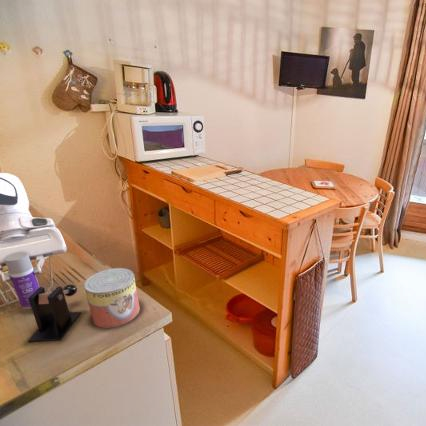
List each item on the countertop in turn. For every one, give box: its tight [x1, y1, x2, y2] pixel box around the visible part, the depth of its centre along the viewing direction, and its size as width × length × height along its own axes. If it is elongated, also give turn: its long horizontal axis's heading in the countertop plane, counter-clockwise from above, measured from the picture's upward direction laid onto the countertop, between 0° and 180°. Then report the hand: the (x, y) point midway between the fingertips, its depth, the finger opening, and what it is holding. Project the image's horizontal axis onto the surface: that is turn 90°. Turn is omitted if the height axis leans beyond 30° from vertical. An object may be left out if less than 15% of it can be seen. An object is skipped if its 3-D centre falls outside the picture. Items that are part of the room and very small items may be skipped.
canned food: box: [83, 267, 141, 329], centre depth 86 cm, size 11×11×12 cm
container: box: [4, 252, 40, 310], centre depth 84 cm, size 5×5×15 cm
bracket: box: [27, 285, 82, 343], centre depth 80 cm, size 10×7×12 cm
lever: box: [38, 283, 78, 304], centre depth 83 cm, size 12×3×3 cm, turn 9°
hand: (23, 277), depth 83 cm, fingers closed on container, 4 cm apart
